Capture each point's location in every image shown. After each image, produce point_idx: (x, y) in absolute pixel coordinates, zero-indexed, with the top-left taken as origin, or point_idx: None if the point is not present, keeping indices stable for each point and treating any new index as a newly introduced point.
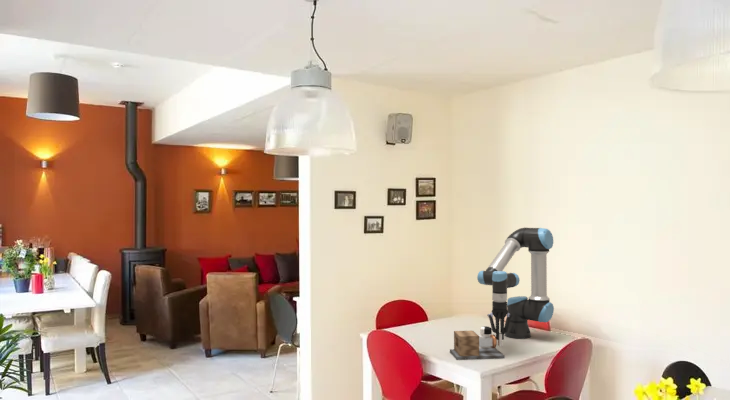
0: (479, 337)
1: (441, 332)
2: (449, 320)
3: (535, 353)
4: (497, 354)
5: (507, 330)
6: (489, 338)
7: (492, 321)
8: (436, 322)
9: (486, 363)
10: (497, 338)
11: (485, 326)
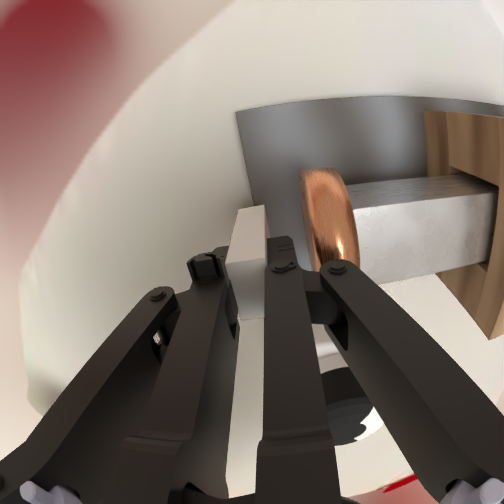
0: (458, 248)
1: (398, 450)
2: None
3: (58, 250)
4: (289, 134)
5: (138, 306)
6: (385, 212)
7: (448, 393)
8: (365, 487)
9: (379, 8)
10: (284, 243)
11: (340, 443)
